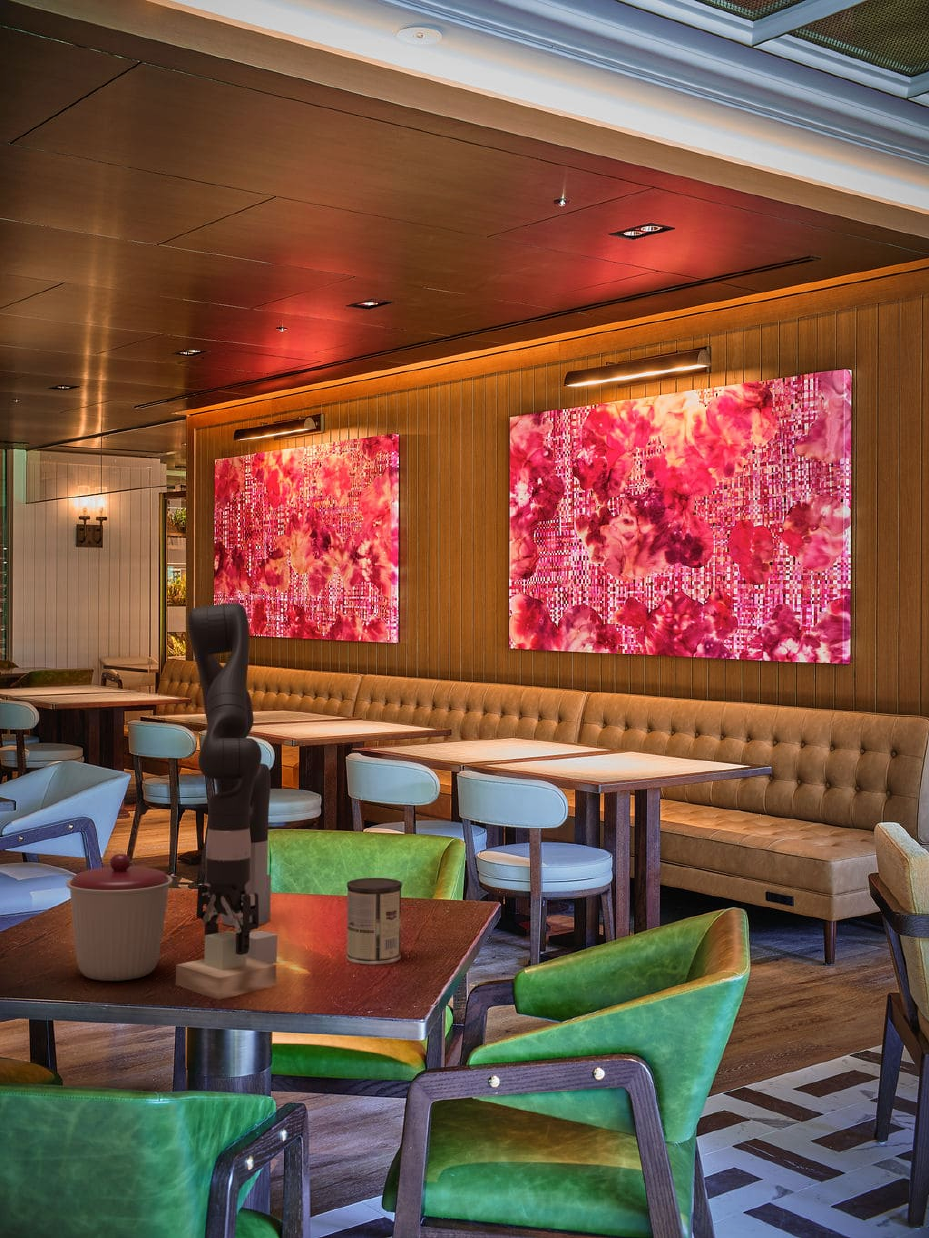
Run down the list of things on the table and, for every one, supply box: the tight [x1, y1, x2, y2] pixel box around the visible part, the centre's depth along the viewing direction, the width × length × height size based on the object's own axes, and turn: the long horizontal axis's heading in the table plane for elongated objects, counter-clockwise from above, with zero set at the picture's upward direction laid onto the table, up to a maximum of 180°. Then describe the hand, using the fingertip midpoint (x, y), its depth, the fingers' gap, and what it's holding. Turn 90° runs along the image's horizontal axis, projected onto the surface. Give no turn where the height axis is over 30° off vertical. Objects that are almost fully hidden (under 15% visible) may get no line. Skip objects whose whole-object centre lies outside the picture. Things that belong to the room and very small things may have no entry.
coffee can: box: [346, 877, 403, 966], centre depth 235 cm, size 10×10×14 cm
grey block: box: [246, 930, 278, 964], centre depth 231 cm, size 5×5×5 cm
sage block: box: [204, 930, 246, 970], centre depth 215 cm, size 5×5×5 cm
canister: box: [65, 853, 173, 982], centre depth 221 cm, size 18×18×21 cm
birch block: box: [175, 957, 277, 1000], centre depth 215 cm, size 12×12×4 cm
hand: (226, 949), depth 215 cm, fingers open, 8 cm apart
